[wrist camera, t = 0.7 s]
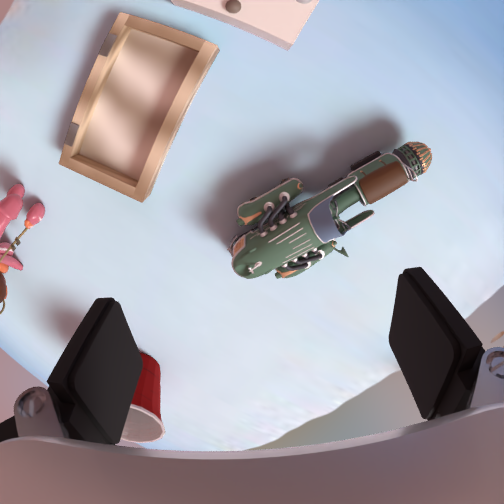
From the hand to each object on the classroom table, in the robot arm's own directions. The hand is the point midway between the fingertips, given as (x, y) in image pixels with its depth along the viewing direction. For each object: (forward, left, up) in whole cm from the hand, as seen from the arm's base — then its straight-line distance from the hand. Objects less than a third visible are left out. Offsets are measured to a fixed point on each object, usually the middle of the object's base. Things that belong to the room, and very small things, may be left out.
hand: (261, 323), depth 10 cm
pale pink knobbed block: (-16, -9, -26) cm, 32 cm away
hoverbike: (-1, +9, -26) cm, 27 cm away
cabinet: (-1, -14, -26) cm, 29 cm away
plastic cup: (+34, -1, -26) cm, 43 cm away
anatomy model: (+22, -26, -26) cm, 43 cm away
